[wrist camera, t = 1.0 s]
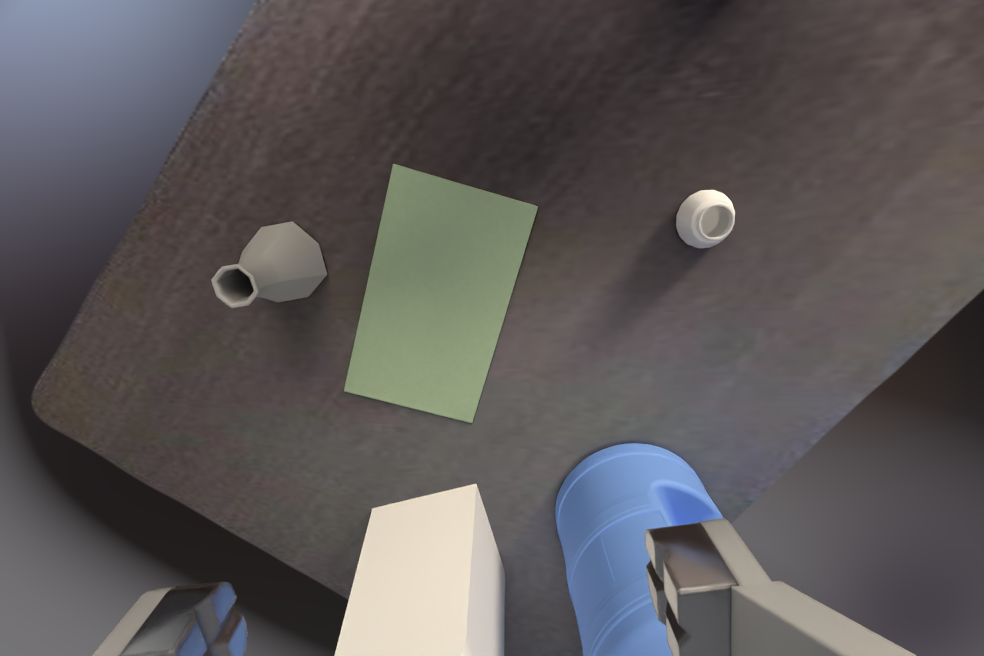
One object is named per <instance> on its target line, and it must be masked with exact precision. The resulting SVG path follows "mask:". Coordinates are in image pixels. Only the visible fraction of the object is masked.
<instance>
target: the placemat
mask: <svg viewBox="0 0 984 656" xmlns="http://www.w3.org/2000/svg"><path fill="white" fill-rule="evenodd" d="M537 209H538V206H535V205H532V204H528V203H525V202H521V201H518V200H515V199H511V198H508V197H504V196H501V195H498V194H494V193H491V192H487V191H484V190H481V189H477V188H474V187H471V186H467V185H464V184H460V183H457V182H454V181H450V180H447V179H443V178H440V177H437V176H433V175H430V174H426V173H423V172H420V171H416V170H413V169H410V168H406V167H403V166H399V165H396V164H393V167H392V171H391V176H390V181H389V185H388V190H387V194H386V199H385V204H384V208H383V213H382V217H381V222H380V227H379V231H378V236H377V240H376V245H375V250H374V254H373V259H372V264H371V268H370V273H369V277H368V282H367V287H366V291H365V296H364V300H363V305H362V310H361V314H360V319H359V323H358V328H357V333H356V337H355V342H354V347H353V351H352V356H351V360H350V365H349V370H348V374H347V379H346V383H345V388H344V391H345V392H349V393H353V394H357V395H361V396H365V397H369V398H373V399H377V400H381V401H385V402H389V403H393V404H397V405H401V406H405V407H409V408H413V409H417V410H421V411H425V412H429V413H433V414H437V415H441V416H445V417H449V418H453V419H457V420H461V421H465V422H469V423H472V422H473V419H474V415H475V412H476V409H477V405H478V402H479V399H480V396H481V392H482V389H483V386H484V382H485V379H486V376H487V373H488V369H489V366H490V363H491V360H492V356H493V353H494V350H495V346H496V343H497V340H498V337H499V333H500V330H501V327H502V323H503V320H504V317H505V314H506V310H507V307H508V304H509V301H510V297H511V294H512V291H513V287H514V284H515V281H516V278H517V274H518V271H519V268H520V264H521V261H522V258H523V255H524V251H525V248H526V245H527V241H528V238H529V235H530V232H531V228H532V225H533V222H534V219H535V215H536V212H537Z"/></svg>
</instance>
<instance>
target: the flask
mask: <svg viewBox="0 0 984 656" xmlns="http://www.w3.org/2000/svg"><path fill="white" fill-rule="evenodd" d="M326 276H327V271H326V268H325V264H324V261H323V257H322V254H321V250H320V246H319V243H317V242H316V241H315V240H314V239H313V238H312V237H310V236H309V235H308V234H307V233H306V232H305V231H303V230H302V229H301V228H300V227H299V226H297V225H296V224H295V223H294V222H293V221H292V222H286V223H281V224H276V225H270V226H265V227H261V228H260V229H259V231H258V232H257V233H256V235H255V236H254V237H253V238H252V240H251V241H250V242H249V243H248V245H247V246H246V247H245V248H244V250H243V251H242V254H241V257H240V261H239V263H238V264H234V265H229V266H223V267H221V268H220V269H219V271H218V272H217V273H216V274H215V276H214V277H213V278H212V280H211V281H212V284H213V287H214V290H215V293H216V296H217V297H218V298H219V299H220V300H222V301H223V302H224V303H225V304H227V305H228V306H229V307H231V308H236V307H242V306H247V305H250V304H251V302H252V301H253V300H254V299H255V298H256V297H260V298H265V299H269V300H272V301H275V302H283V301H289V300H294V299H300V298H305V297H309V296H310V294H311V293H312V292H313V291H314V290H315V289H316V287H317V286H318V285H319V284H320V283H321V281H322V280H323V279H324V278H325V277H326Z"/></svg>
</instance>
